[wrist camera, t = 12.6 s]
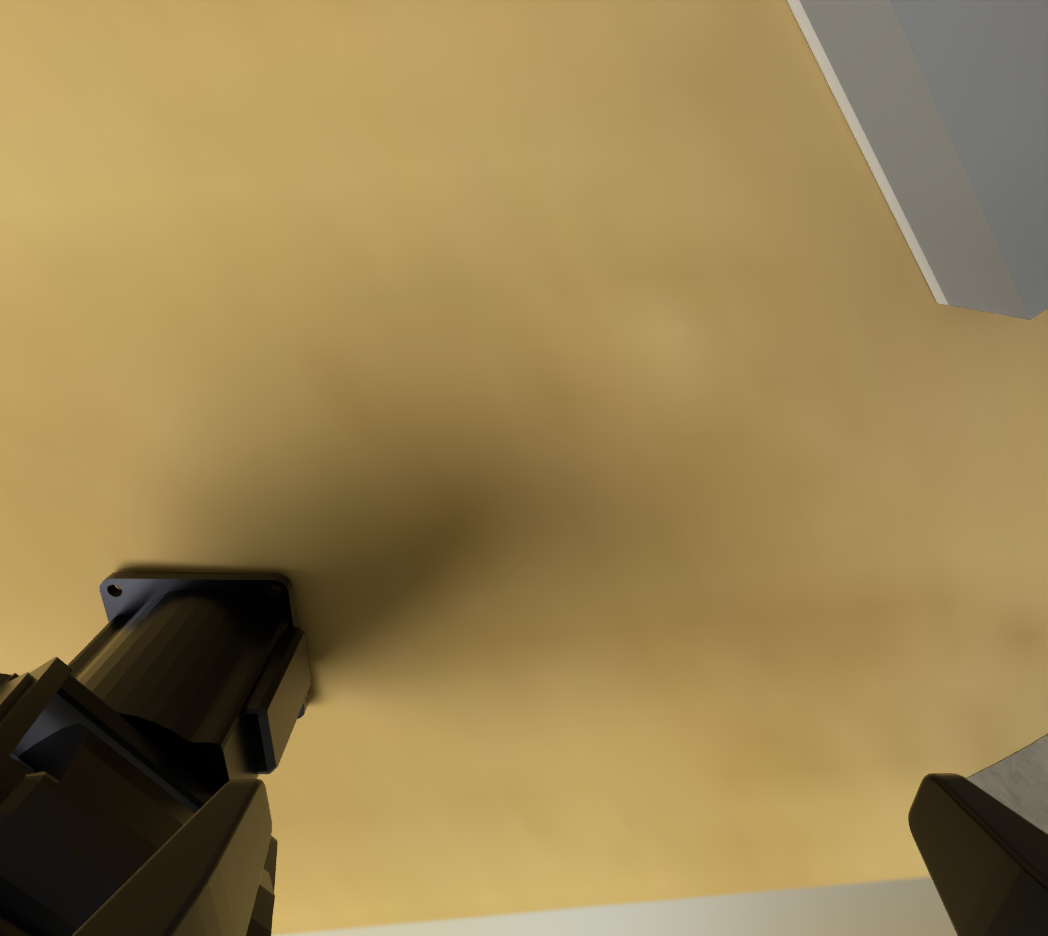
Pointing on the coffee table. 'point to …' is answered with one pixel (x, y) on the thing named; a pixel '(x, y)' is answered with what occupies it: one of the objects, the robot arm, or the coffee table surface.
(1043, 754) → the hip flask
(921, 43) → the socket block
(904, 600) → the coffee table surface
